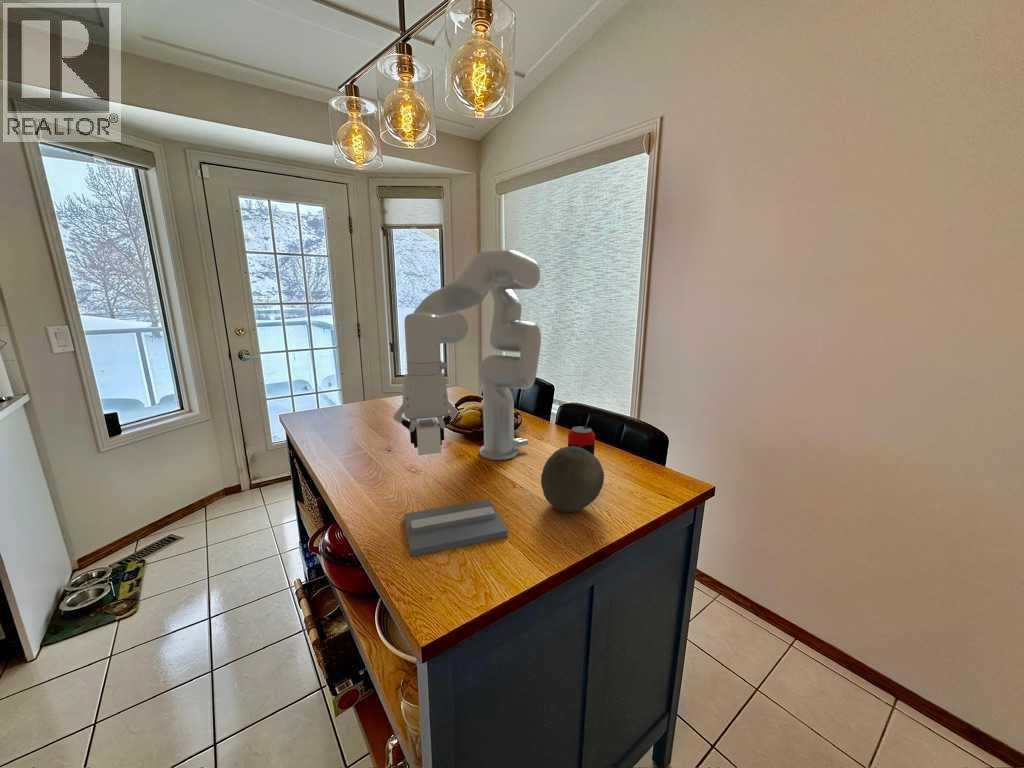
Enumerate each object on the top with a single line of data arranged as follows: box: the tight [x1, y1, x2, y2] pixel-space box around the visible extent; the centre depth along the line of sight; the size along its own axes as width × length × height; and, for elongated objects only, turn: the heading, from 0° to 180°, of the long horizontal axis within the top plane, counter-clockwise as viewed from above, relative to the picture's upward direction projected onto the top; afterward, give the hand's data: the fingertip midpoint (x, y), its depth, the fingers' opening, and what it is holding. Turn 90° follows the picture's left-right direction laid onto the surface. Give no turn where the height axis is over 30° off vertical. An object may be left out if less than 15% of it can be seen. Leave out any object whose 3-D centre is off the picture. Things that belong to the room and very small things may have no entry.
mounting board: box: [403, 498, 509, 558], centre depth 88 cm, size 20×14×2 cm
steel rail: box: [411, 506, 495, 533], centre depth 87 cm, size 18×3×1 cm, turn 109°
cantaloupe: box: [540, 445, 605, 513], centre depth 94 cm, size 14×14×15 cm
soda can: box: [567, 425, 596, 456], centre depth 116 cm, size 8×8×12 cm
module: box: [415, 417, 442, 456], centre depth 94 cm, size 5×8×6 cm, turn 18°
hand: (427, 443), depth 94 cm, fingers closed on module, 5 cm apart
